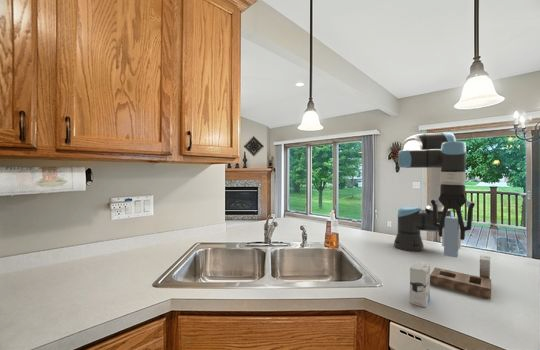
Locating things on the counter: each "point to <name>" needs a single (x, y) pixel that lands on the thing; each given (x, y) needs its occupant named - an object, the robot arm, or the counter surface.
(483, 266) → the grey upright block
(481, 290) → the bit holder block
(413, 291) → the ink box
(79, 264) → the counter surface
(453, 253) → the square bit
